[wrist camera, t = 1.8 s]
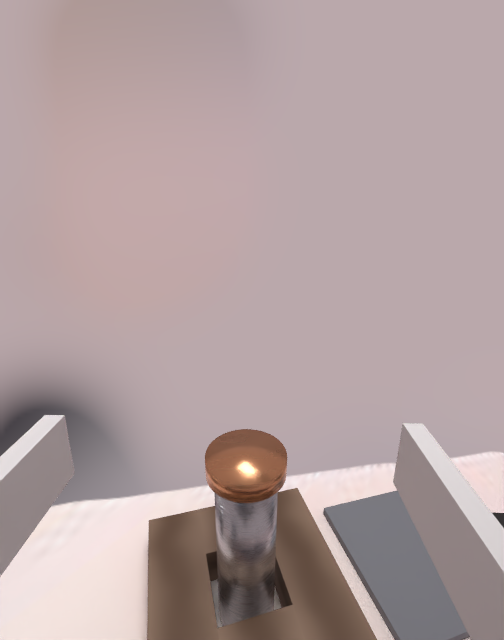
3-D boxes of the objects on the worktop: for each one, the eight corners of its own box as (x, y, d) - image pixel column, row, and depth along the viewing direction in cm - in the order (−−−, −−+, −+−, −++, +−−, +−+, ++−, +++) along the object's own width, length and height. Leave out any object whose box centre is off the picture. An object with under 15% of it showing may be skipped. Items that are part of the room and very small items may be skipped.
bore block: (295, 512, 39) (297, 487, 38) (381, 691, 25) (387, 660, 23) (151, 546, 35) (148, 520, 34) (151, 787, 20) (145, 753, 19)
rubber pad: (425, 488, 43) (426, 483, 42) (542, 607, 30) (545, 601, 30) (323, 513, 39) (324, 508, 39) (407, 661, 26) (408, 654, 26)
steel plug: (268, 565, 33) (271, 424, 29) (291, 634, 28) (300, 474, 23) (207, 581, 32) (200, 436, 27) (218, 659, 26) (212, 493, 22)
